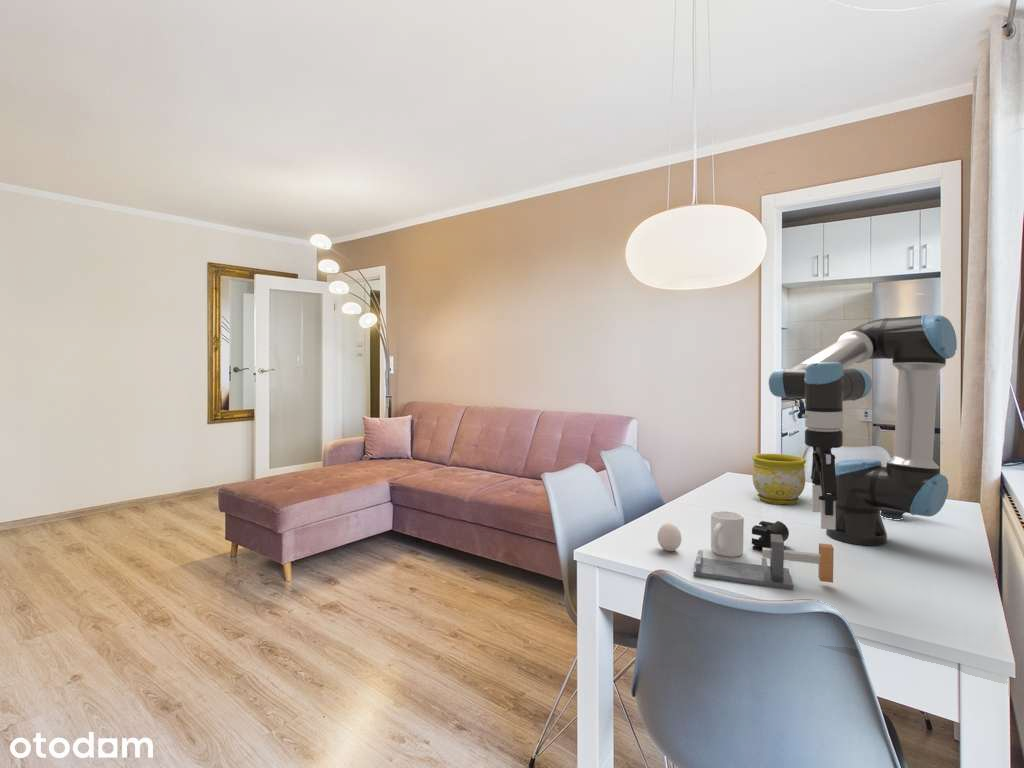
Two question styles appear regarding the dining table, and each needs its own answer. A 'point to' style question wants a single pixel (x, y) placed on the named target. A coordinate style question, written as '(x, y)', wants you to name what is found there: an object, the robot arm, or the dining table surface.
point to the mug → (727, 533)
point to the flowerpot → (778, 477)
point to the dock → (748, 569)
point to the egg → (669, 536)
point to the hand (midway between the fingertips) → (823, 520)
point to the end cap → (768, 534)
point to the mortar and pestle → (891, 513)
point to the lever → (811, 559)
